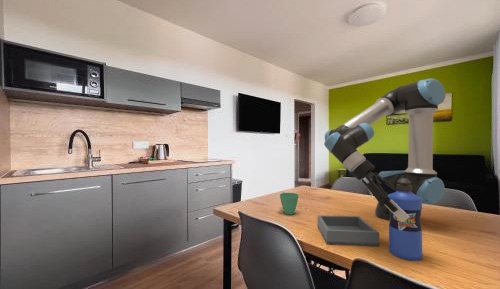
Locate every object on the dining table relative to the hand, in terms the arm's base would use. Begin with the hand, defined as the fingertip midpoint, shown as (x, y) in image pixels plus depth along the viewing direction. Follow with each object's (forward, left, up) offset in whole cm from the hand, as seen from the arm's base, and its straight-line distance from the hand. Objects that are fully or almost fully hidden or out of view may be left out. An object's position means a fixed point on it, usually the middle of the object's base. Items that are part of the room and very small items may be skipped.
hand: (408, 214), depth 72 cm
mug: (+37, -45, -14) cm, 60 cm away
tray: (+16, -15, -13) cm, 25 cm away
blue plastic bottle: (+1, -1, -14) cm, 14 cm away
